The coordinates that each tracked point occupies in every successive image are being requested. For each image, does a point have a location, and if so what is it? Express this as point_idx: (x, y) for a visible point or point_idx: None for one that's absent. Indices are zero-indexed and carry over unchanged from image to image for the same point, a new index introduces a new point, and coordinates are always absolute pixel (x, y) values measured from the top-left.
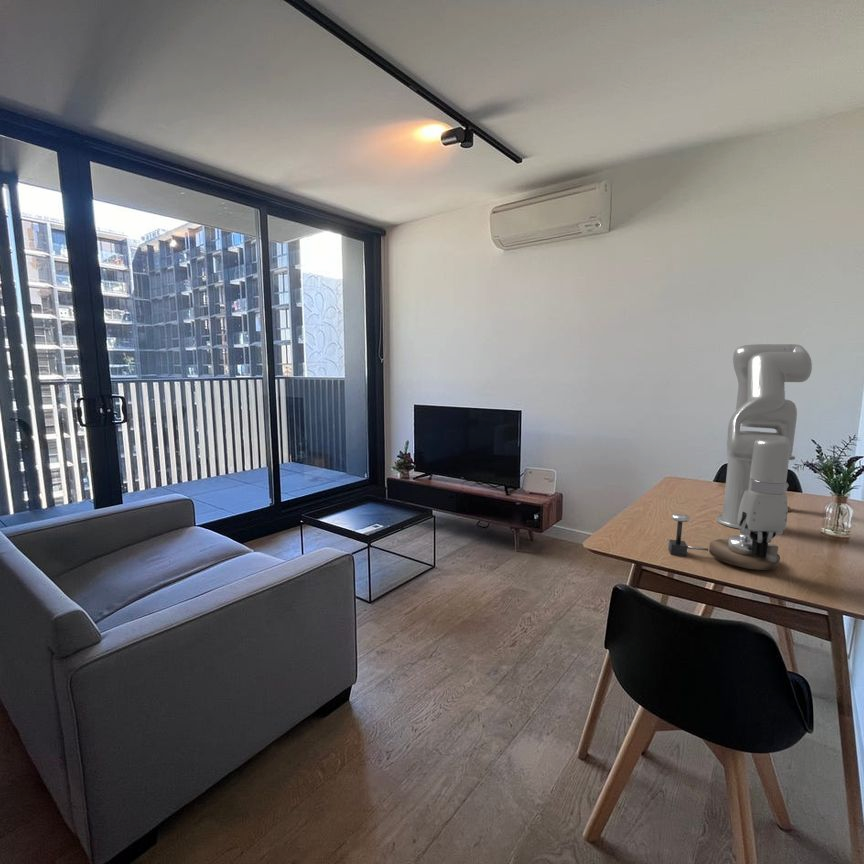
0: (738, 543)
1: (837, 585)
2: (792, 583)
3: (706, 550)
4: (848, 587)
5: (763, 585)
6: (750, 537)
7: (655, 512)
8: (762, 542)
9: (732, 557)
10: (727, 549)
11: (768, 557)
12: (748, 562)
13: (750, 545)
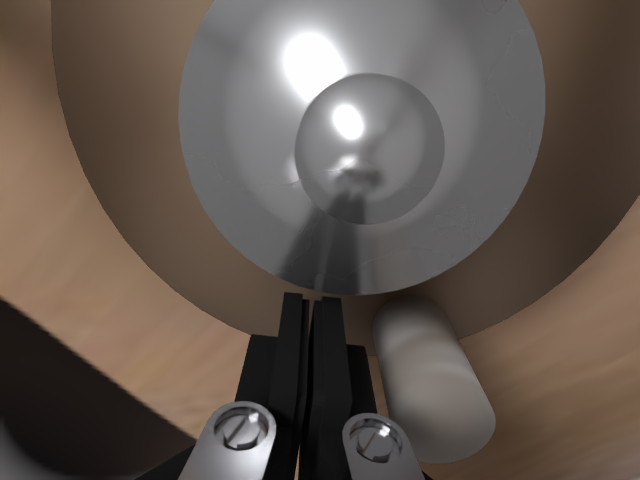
0: (206, 208)
1: (584, 451)
2: (379, 409)
3: None
4: (610, 469)
5: (202, 404)
6: (207, 425)
7: None
8: (305, 472)
9: (129, 236)
10: None
11: (377, 355)
12: (216, 311)
13: (302, 284)
